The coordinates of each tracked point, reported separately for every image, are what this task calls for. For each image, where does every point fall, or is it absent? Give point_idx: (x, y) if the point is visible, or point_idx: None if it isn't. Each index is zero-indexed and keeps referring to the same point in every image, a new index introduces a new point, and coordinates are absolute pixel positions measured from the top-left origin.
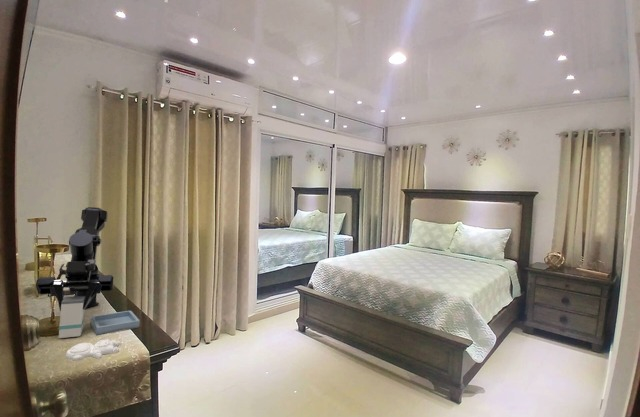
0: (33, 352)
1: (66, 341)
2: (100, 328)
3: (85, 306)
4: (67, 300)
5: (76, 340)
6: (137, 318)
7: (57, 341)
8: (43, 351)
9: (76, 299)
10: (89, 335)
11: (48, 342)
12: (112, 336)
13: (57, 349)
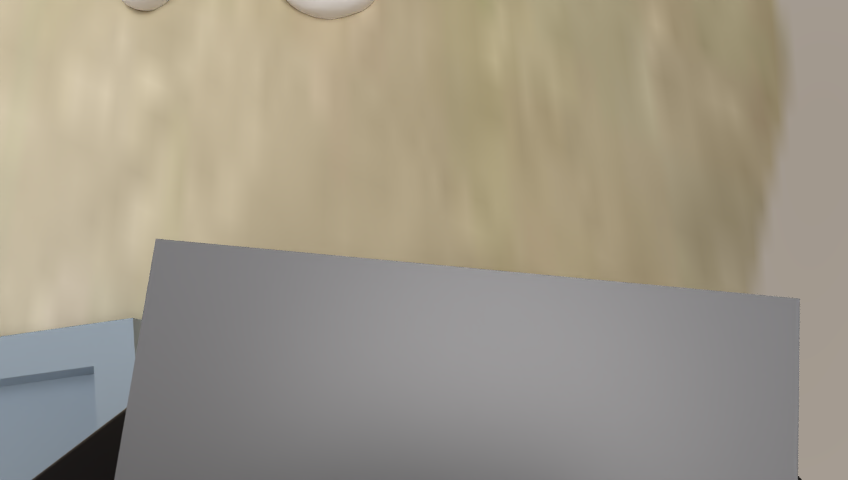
0: (784, 70)
1: (494, 262)
2: (93, 326)
3: None
4: (630, 434)
5: (390, 247)
6: None
7: None
8: (692, 57)
9: (350, 463)
10: None
11: None
12: (12, 207)
13: (563, 54)
